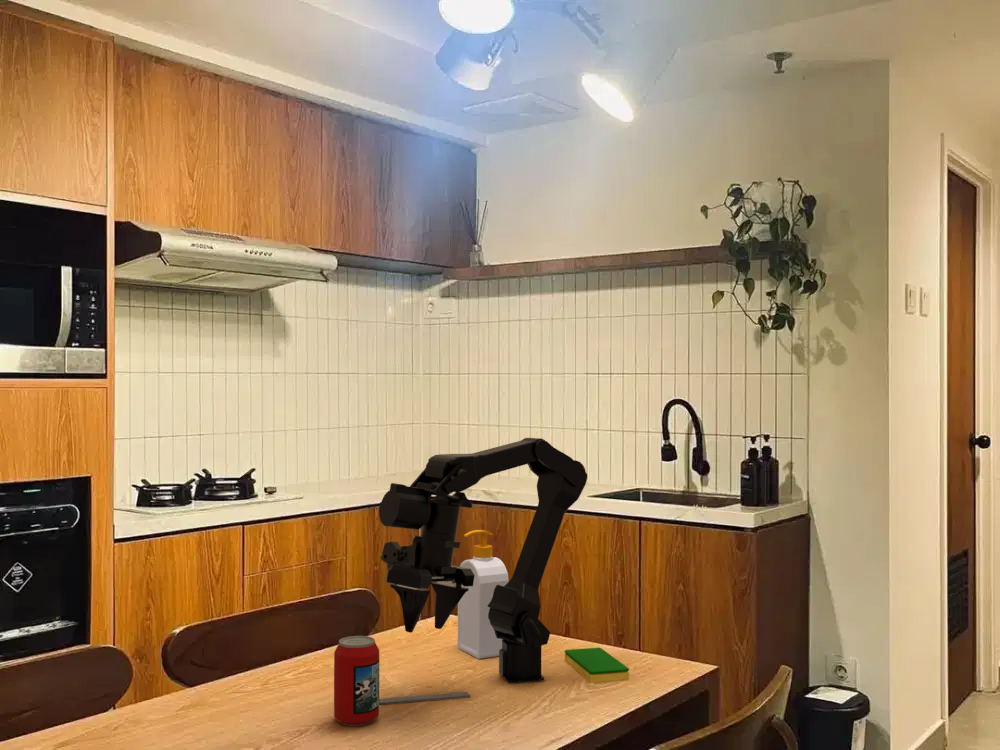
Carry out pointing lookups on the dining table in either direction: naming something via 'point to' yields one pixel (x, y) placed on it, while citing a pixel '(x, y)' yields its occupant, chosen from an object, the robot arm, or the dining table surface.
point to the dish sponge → (596, 665)
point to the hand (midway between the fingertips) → (423, 630)
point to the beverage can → (356, 680)
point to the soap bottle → (480, 601)
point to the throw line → (423, 698)
